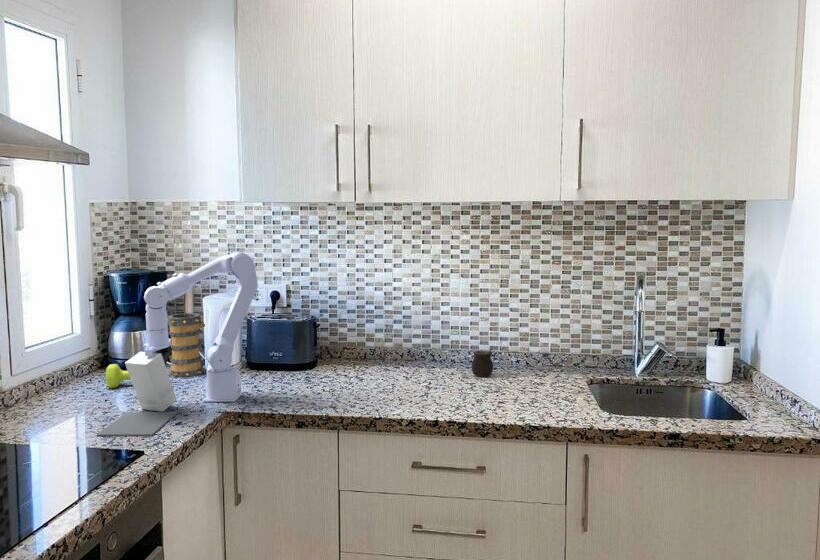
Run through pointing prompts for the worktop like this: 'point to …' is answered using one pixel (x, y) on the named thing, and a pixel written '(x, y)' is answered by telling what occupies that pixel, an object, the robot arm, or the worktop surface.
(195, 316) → the mug
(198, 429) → the worktop surface
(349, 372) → the worktop surface
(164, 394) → the skincare box
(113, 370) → the dumbbell
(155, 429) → the charcoal rubber mat
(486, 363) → the mate gourd
